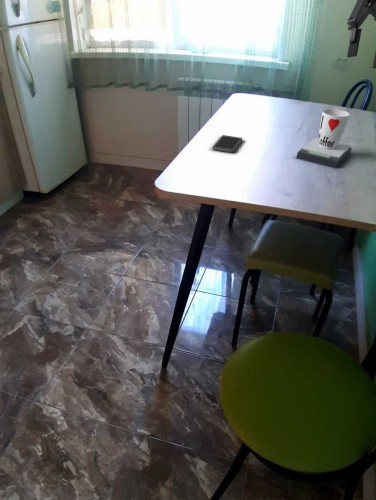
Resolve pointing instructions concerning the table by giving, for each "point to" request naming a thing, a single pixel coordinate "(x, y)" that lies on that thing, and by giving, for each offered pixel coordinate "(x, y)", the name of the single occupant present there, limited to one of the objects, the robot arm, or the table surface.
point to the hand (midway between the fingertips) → (364, 62)
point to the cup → (332, 127)
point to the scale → (324, 153)
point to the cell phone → (227, 143)
